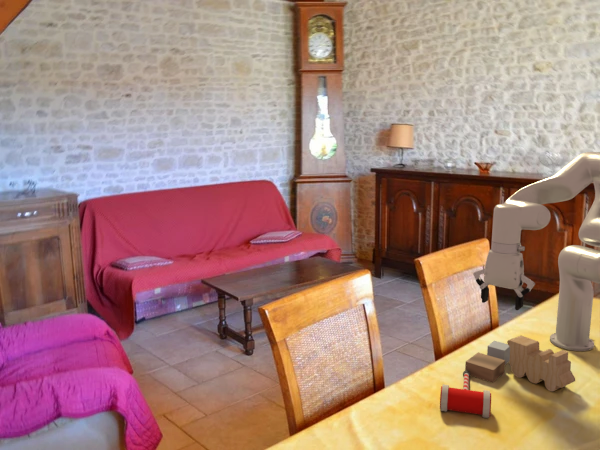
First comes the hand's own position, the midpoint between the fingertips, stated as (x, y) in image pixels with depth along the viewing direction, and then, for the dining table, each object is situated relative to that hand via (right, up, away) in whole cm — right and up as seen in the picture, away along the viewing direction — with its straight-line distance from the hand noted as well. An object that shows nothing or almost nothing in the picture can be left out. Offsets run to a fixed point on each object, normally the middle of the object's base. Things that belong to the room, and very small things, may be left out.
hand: (501, 305), depth 156 cm
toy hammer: (-16, -22, -18) cm, 33 cm away
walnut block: (-6, -19, -4) cm, 20 cm away
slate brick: (0, -17, +4) cm, 18 cm away
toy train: (+7, -20, -9) cm, 23 cm away
